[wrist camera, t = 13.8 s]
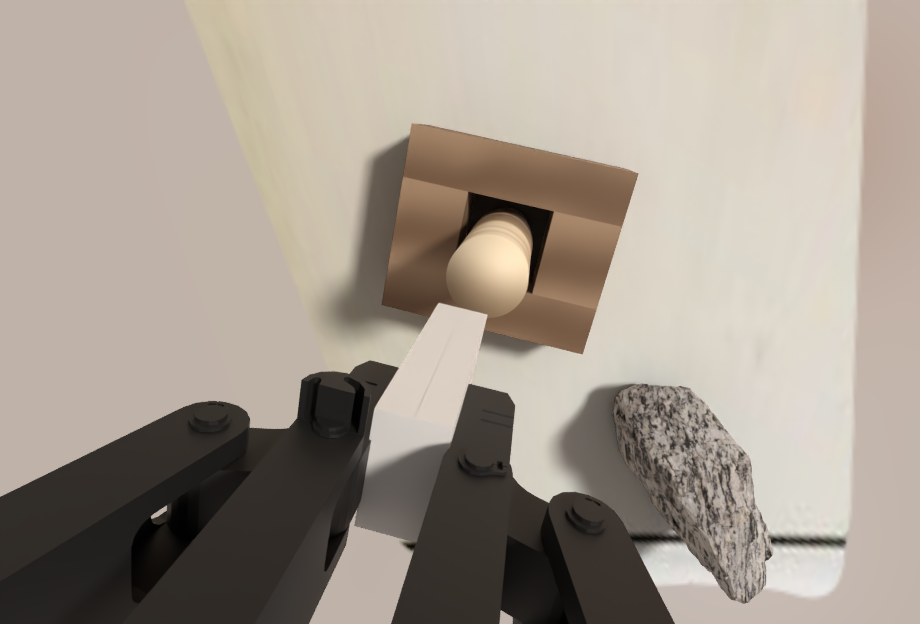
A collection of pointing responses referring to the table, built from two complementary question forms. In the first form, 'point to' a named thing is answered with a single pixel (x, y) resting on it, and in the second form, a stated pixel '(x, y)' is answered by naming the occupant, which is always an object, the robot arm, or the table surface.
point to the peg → (492, 264)
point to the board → (521, 181)
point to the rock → (696, 482)
